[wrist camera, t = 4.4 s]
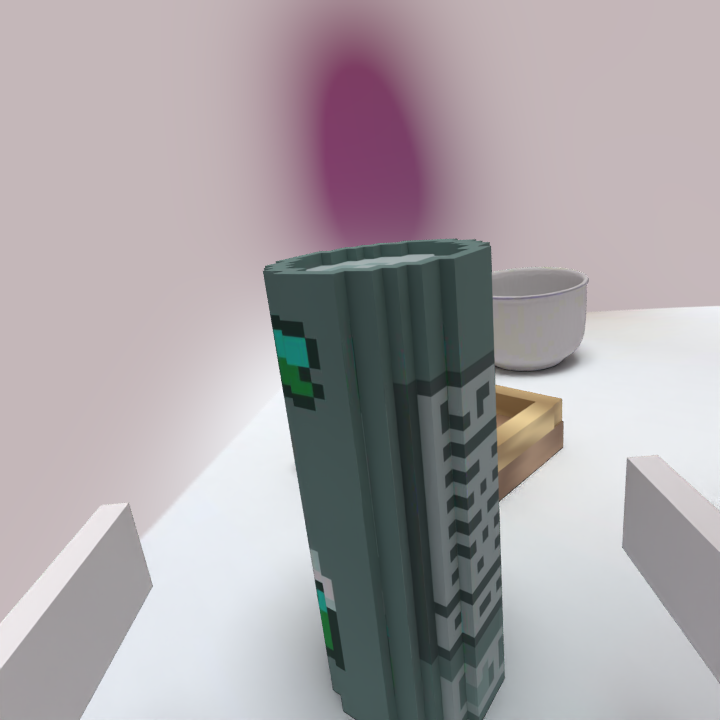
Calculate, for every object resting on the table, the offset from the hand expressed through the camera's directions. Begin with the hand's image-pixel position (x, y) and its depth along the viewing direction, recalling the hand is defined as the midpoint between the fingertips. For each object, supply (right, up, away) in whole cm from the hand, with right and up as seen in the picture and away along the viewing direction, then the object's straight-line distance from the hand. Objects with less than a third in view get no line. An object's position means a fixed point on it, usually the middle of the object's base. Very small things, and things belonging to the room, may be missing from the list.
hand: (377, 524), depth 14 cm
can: (+2, -7, +6) cm, 9 cm away
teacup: (+14, +4, +37) cm, 39 cm away
